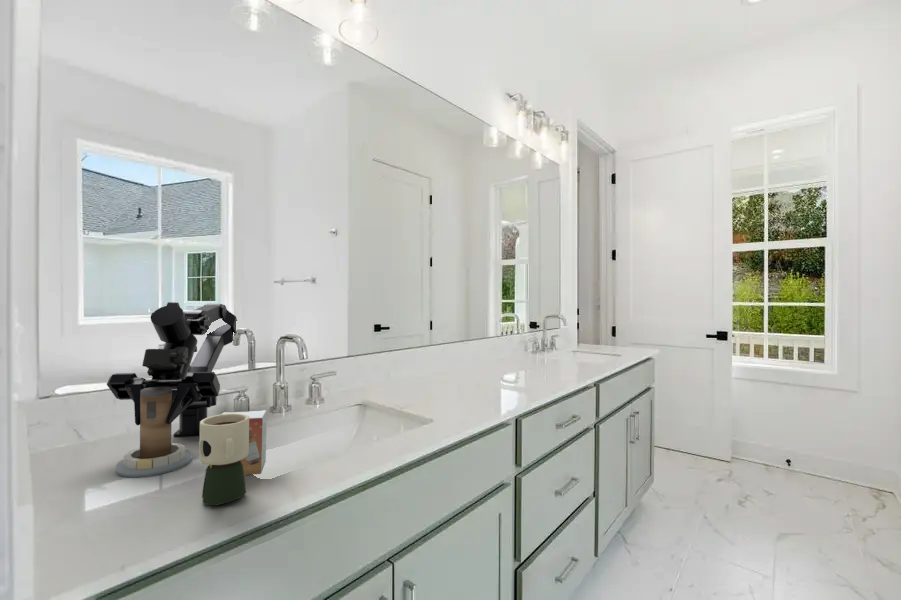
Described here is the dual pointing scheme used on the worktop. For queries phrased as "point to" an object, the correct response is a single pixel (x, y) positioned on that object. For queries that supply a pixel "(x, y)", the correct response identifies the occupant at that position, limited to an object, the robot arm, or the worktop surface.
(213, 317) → the robot arm
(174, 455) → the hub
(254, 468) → the small box
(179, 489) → the worktop surface
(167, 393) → the brown wooden canister
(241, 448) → the character mug
